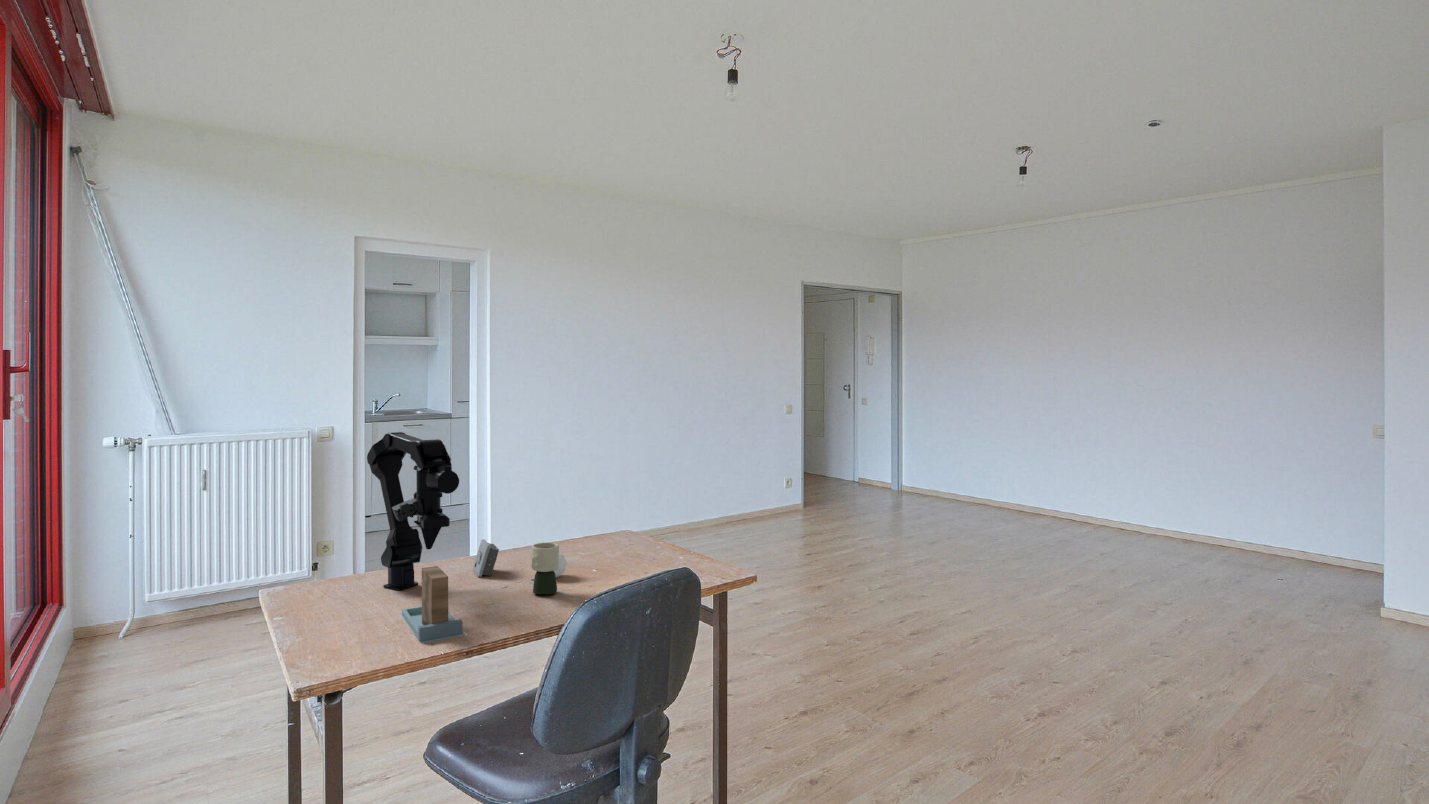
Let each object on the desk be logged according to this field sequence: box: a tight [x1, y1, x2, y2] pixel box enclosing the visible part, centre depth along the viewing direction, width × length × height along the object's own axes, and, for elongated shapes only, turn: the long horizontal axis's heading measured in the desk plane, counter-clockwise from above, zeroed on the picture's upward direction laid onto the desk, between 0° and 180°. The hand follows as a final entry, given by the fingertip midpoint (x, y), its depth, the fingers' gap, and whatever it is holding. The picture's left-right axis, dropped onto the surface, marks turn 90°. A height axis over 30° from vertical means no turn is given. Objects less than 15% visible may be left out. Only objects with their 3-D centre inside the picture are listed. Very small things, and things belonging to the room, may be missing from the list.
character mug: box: [530, 541, 560, 596], centre depth 193 cm, size 11×7×13 cm, turn 157°
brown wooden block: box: [421, 565, 449, 625], centre depth 165 cm, size 10×4×13 cm, turn 33°
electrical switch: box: [472, 538, 500, 578], centre depth 212 cm, size 9×5×9 cm, turn 28°
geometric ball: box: [554, 552, 568, 579], centre depth 209 cm, size 8×8×8 cm
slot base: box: [401, 605, 464, 645], centre depth 167 cm, size 21×9×4 cm, turn 33°
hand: (428, 549), depth 187 cm, fingers closed
